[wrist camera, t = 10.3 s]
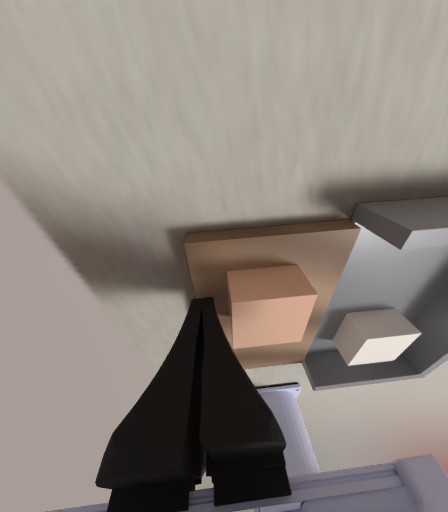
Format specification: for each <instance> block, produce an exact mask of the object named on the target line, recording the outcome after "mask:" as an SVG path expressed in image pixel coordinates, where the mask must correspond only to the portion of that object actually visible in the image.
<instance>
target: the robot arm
mask: <svg viewBox="0 0 448 512" xmlns="http://www.w3.org/2000/svg"><path fill="white" fill-rule="evenodd" d="M301 388H302V387H301V385H300V384H295V385H286V386H278V387H270V388H261V389H256V388H255V386H254V385H253V383H252V382H251V380H250V379H249V377H248V375H247V374H246V372H245V371H244V369H243V367H242V366H241V364H240V362H239V360H238V359H237V357H236V355H235V353H234V351H233V350H232V348H231V346H230V344H229V342H228V340H227V337H226V335H225V333H224V331H223V328H222V326H221V323H220V321H219V318H218V315H217V312H216V308H215V303H214V298H213V297H206V298H196V299H192V300H191V304H190V307H189V310H188V313H187V315H186V318H185V321H184V323H183V325H182V328H181V330H180V332H179V334H178V336H177V338H176V340H175V342H174V344H173V346H172V348H171V350H170V352H169V354H168V355H167V357H166V359H165V361H164V362H163V364H162V366H161V367H160V369H159V370H158V372H157V374H156V375H155V377H154V378H153V380H152V381H151V383H150V384H149V386H148V387H147V388H146V390H145V391H144V393H143V394H142V395H141V397H140V399H139V400H138V401H137V403H136V404H135V405H134V407H133V408H132V409H131V410H130V412H129V413H128V414H127V415H126V417H125V418H124V419H123V421H122V422H121V423H120V424H119V426H118V427H117V428H116V429H115V431H114V432H113V434H112V436H111V438H110V441H109V443H108V446H107V448H106V451H105V453H104V456H103V459H102V462H101V465H100V468H99V472H98V475H97V478H96V482H95V483H96V486H97V487H101V488H107V489H112V492H111V496H110V500H109V503H103V504H96V505H89V506H82V507H75V508H68V509H60V510H54V511H46V512H232V511H240V510H247V509H254V511H253V512H448V475H447V474H446V473H445V471H444V470H443V468H442V467H441V466H440V464H439V463H438V461H437V460H436V458H435V457H434V456H432V455H423V456H415V457H409V458H403V459H399V460H395V461H393V463H386V464H378V465H371V466H365V467H358V468H351V469H343V470H337V471H329V472H322V473H321V472H320V469H319V466H318V463H317V460H316V457H315V454H314V451H313V448H312V445H311V442H310V439H309V436H308V433H307V430H306V427H305V424H304V421H303V419H302V415H301V412H300V409H299V407H298V403H297V401H296V398H297V396H298V394H299V392H300V390H301ZM205 471H206V476H211V477H212V483H213V484H214V488H209V489H202V490H195V485H197V484H201V481H202V480H201V479H202V476H203V474H204V472H205Z"/></svg>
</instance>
